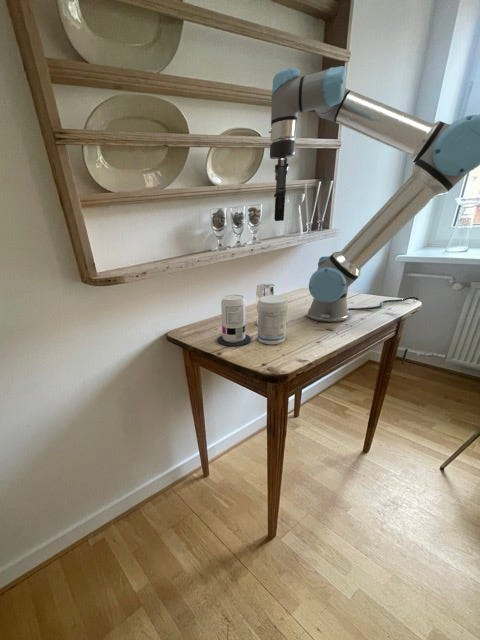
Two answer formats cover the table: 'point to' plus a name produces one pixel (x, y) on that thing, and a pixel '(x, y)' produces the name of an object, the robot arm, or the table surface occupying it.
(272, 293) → the beer glass
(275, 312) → the supplement tub
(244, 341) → the coaster
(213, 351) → the table surface
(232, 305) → the supplement can
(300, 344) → the table surface
